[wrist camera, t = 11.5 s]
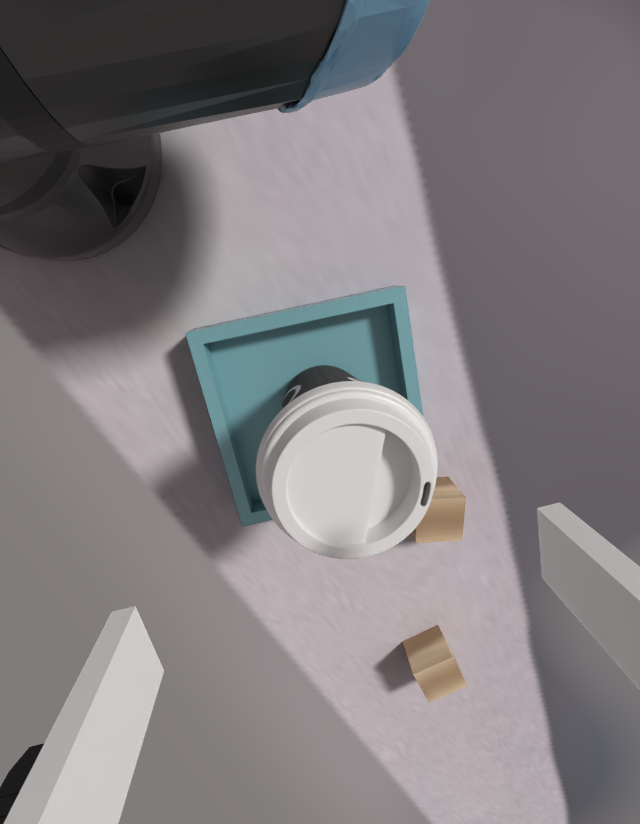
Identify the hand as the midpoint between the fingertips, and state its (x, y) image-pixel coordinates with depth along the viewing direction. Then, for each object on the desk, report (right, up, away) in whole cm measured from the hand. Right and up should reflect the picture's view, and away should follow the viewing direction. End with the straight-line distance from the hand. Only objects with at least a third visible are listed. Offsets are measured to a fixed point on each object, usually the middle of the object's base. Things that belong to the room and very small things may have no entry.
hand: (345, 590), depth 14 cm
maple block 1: (+9, -2, +26) cm, 27 cm away
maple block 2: (+10, -18, +31) cm, 37 cm away
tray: (-1, +6, +22) cm, 23 cm away
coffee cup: (-1, +6, +21) cm, 22 cm away
